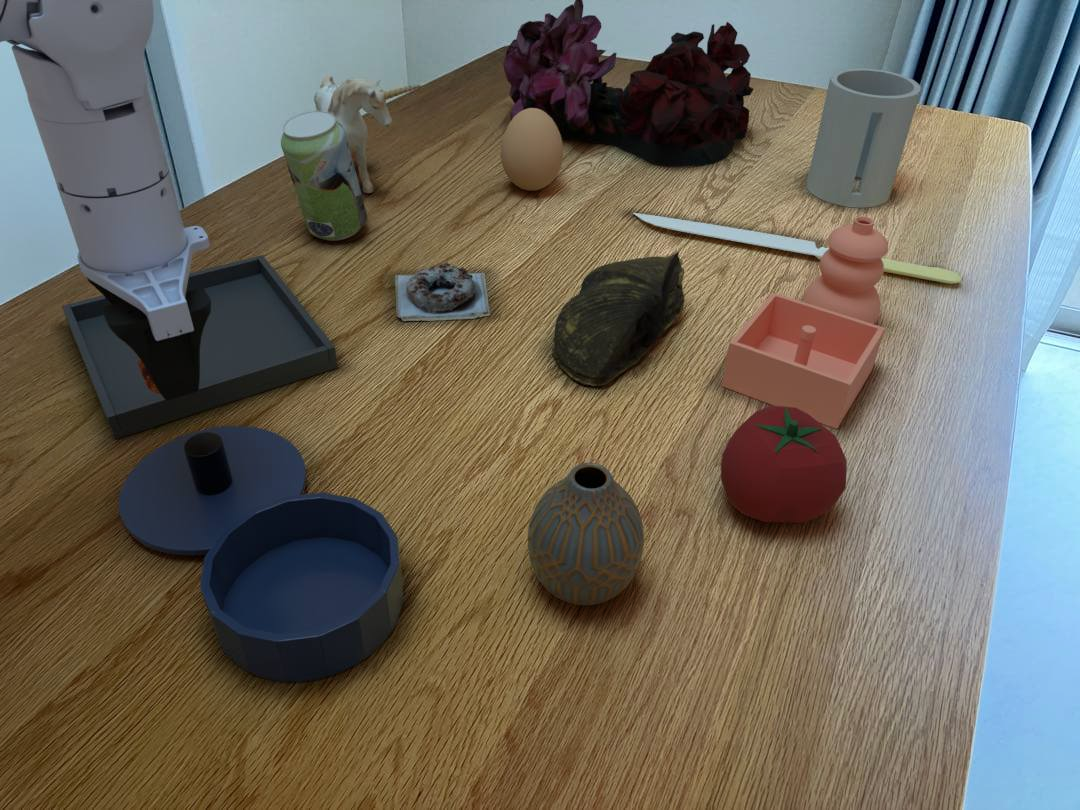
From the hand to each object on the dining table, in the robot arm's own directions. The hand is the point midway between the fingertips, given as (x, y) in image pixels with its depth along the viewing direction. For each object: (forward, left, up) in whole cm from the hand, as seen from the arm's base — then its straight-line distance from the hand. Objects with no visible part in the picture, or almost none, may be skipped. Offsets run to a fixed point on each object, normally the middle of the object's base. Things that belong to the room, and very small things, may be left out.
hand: (172, 375), depth 57 cm
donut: (+25, +12, -9) cm, 29 cm away
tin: (+2, -15, -8) cm, 17 cm away
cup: (+75, +9, -9) cm, 76 cm away
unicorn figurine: (+30, +37, -9) cm, 49 cm away
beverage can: (+21, +28, -9) cm, 36 cm away
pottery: (+48, -12, -9) cm, 50 cm away
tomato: (+32, -23, -9) cm, 41 cm away
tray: (+4, +15, -8) cm, 18 cm away
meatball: (0, 0, -1) cm, 1 cm away
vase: (+17, -22, -9) cm, 29 cm away
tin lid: (0, -3, -8) cm, 8 cm away
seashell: (+35, -1, -9) cm, 36 cm away
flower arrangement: (+62, +35, -9) cm, 72 cm away
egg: (+44, +27, -9) cm, 53 cm away
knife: (+59, +3, -9) cm, 60 cm away
